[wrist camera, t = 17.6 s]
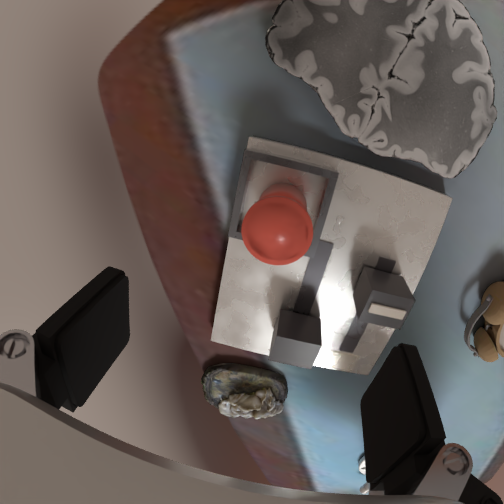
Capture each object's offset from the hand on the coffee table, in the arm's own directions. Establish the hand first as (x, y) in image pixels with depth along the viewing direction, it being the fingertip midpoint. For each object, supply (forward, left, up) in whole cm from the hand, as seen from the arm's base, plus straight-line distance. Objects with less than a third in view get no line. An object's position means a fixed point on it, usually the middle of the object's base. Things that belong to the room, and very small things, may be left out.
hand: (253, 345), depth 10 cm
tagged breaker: (-5, -10, -17) cm, 20 cm away
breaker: (-11, -4, -17) cm, 20 cm away
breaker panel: (-6, -5, -18) cm, 20 cm away
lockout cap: (0, 0, -17) cm, 17 cm away
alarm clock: (-4, -29, -19) cm, 35 cm away
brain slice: (+15, -6, -19) cm, 25 cm away
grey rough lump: (-25, -1, -19) cm, 31 cm away
